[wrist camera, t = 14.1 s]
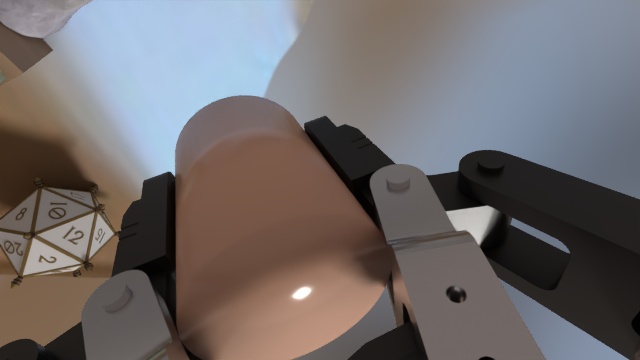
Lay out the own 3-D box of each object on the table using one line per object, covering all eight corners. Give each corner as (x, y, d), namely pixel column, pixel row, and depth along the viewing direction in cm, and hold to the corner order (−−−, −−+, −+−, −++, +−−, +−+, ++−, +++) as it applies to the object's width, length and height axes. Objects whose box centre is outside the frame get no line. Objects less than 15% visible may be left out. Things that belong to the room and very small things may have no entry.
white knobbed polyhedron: (72, 196, 33) (-9, 289, 27) (26, 140, 27) (-97, 248, 21) (154, 220, 33) (91, 319, 27) (129, 170, 26) (36, 287, 20)
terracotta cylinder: (208, 225, 12) (230, 391, 7) (147, 123, 9) (122, 285, 5) (315, 183, 13) (396, 309, 8) (288, 76, 10) (385, 177, 5)
